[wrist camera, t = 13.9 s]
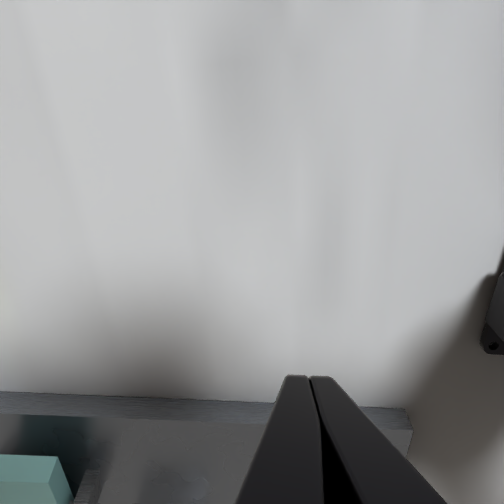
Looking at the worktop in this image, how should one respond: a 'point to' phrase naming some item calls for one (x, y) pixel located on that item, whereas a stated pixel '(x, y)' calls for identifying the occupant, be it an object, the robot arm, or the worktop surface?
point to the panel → (151, 443)
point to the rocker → (33, 480)
